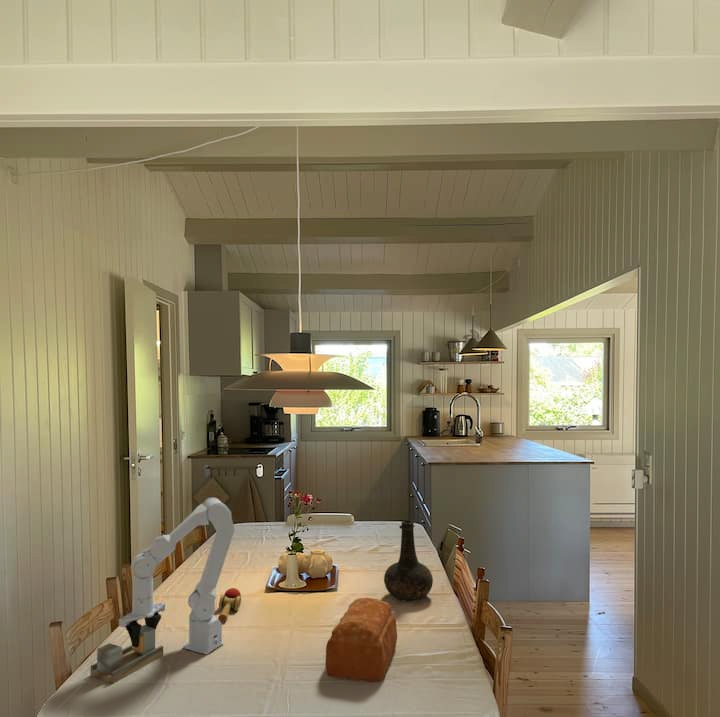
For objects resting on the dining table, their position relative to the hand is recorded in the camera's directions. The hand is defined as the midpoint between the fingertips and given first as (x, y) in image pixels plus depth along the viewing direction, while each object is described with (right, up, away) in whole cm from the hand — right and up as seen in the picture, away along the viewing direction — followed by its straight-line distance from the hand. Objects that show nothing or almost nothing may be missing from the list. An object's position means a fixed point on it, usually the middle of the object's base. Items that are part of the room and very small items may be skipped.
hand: (142, 643), depth 181 cm
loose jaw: (0, -2, 0) cm, 2 cm away
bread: (+64, -5, -1) cm, 64 cm away
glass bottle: (+81, -5, +47) cm, 94 cm away
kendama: (+18, -5, +33) cm, 38 cm away
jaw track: (-2, -4, -5) cm, 7 cm away
